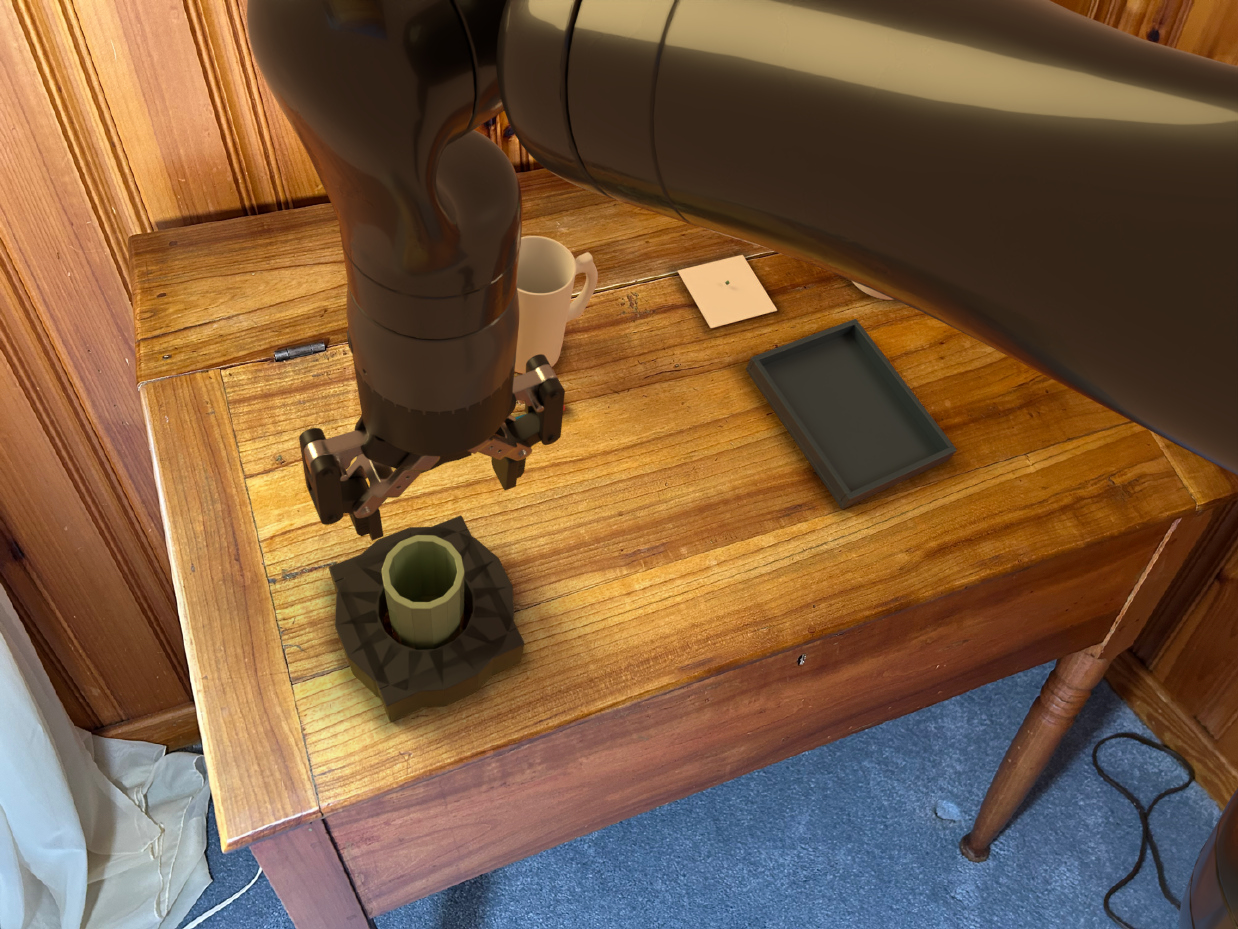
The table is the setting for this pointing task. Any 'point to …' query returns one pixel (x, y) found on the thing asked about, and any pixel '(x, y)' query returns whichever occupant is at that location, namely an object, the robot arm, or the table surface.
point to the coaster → (726, 291)
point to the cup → (424, 592)
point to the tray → (849, 412)
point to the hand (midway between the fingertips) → (439, 500)
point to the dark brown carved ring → (433, 672)
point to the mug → (548, 296)
